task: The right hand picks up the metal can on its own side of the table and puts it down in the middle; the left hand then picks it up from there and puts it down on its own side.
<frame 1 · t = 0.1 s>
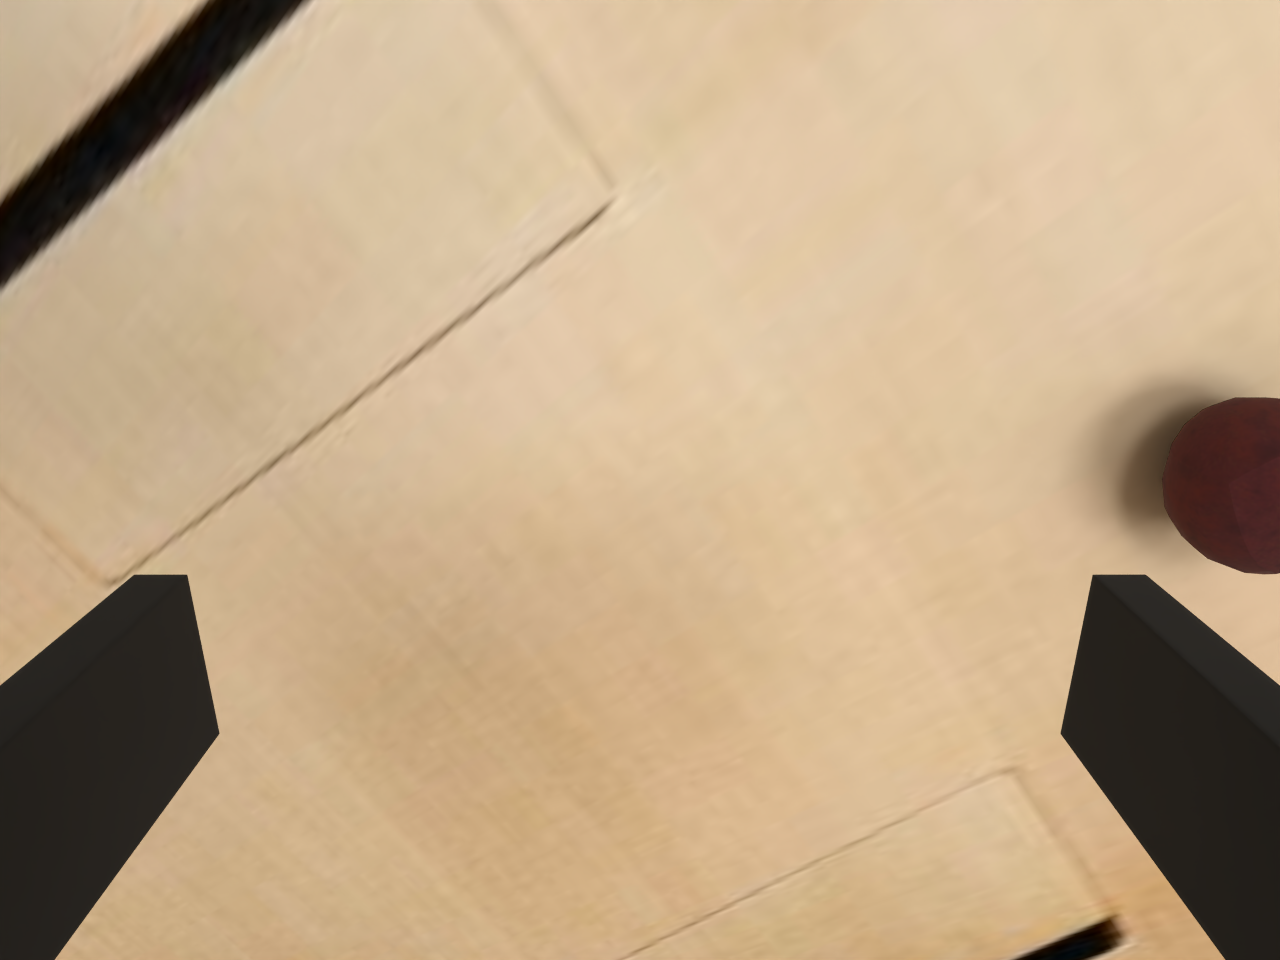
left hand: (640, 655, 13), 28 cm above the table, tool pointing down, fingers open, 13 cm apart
dark maroon ball: (1206, 455, 41), on the table
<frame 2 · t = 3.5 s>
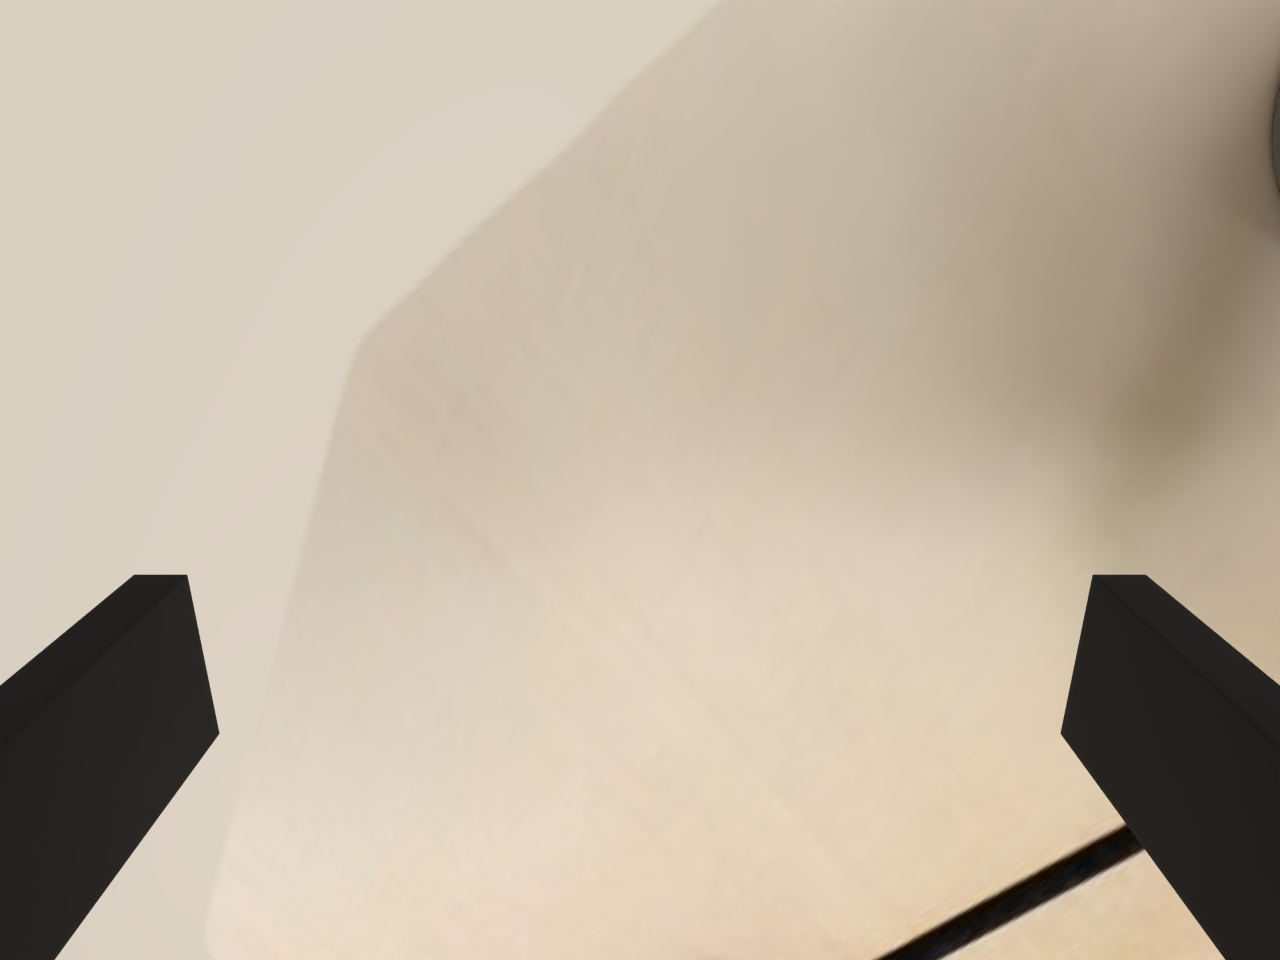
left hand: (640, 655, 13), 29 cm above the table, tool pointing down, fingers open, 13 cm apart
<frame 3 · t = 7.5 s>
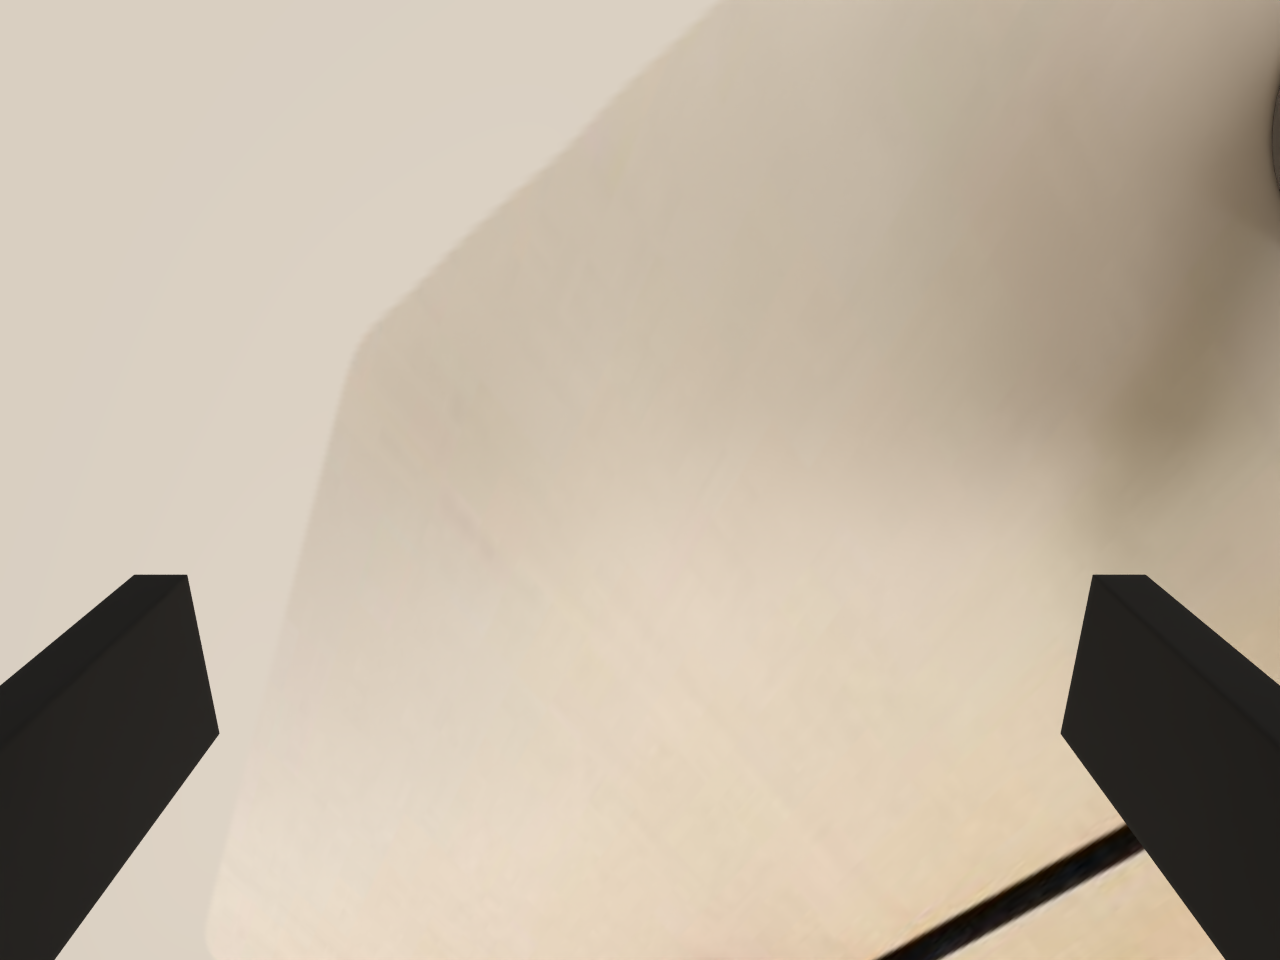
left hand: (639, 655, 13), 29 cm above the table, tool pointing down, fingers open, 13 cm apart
when the right hand's fingers open (6 cm above the table, at t = 11.4 s): can drops 1 cm, on the table.
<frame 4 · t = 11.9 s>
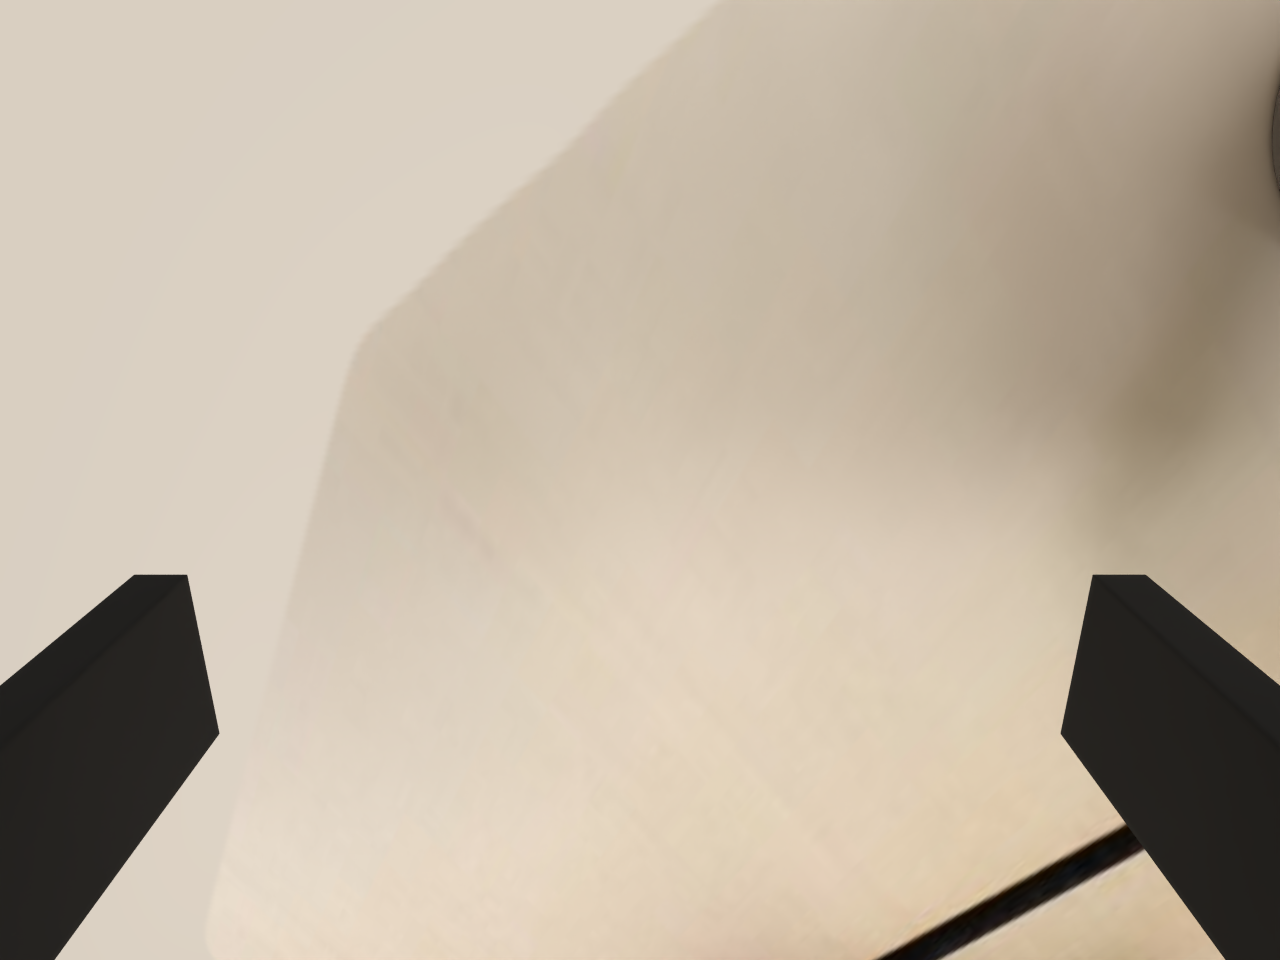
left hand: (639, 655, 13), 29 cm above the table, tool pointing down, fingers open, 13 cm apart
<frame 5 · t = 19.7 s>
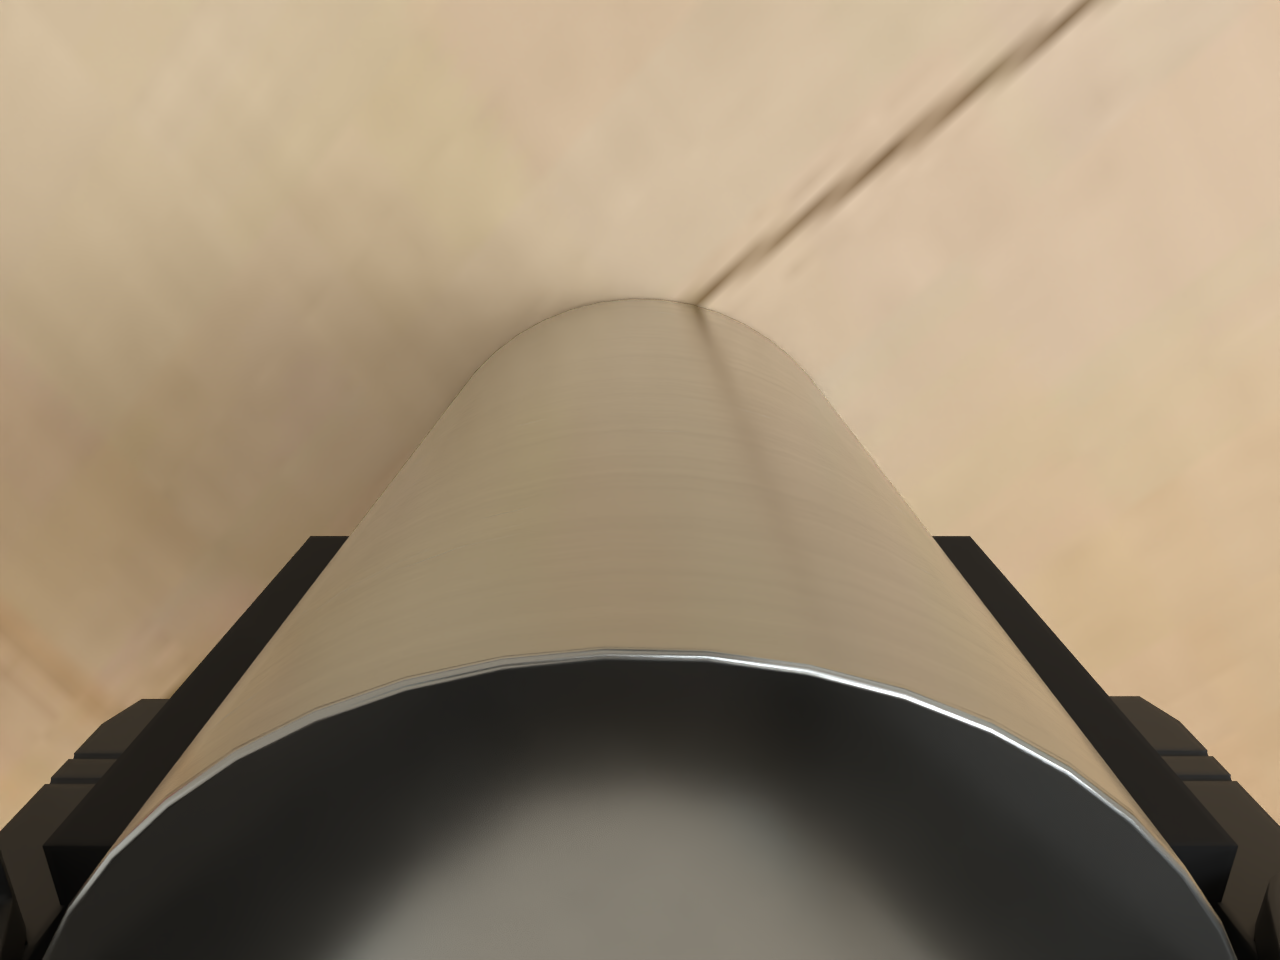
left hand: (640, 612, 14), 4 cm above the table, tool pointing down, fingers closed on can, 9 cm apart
can: (640, 510, 18), on the table, touching left hand
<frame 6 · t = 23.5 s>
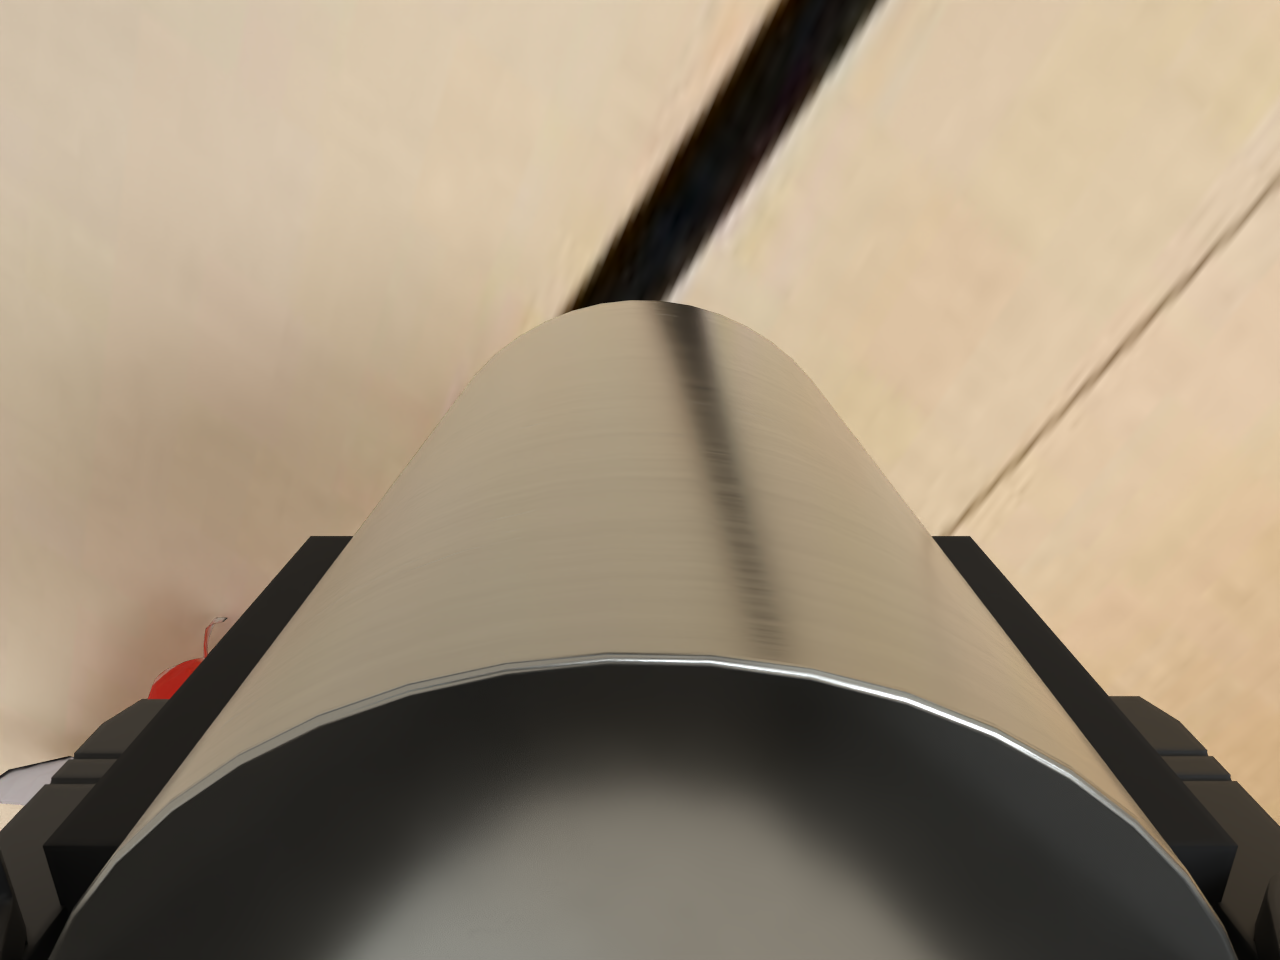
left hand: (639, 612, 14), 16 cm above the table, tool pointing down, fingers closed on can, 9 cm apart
can: (641, 511, 18), point 12 cm above the table, touching left hand
fish: (230, 750, 34), on the table
when the left hand's fingers open (6 cm above the table, at t = 27.6 s): can drops 1 cm, on the table.
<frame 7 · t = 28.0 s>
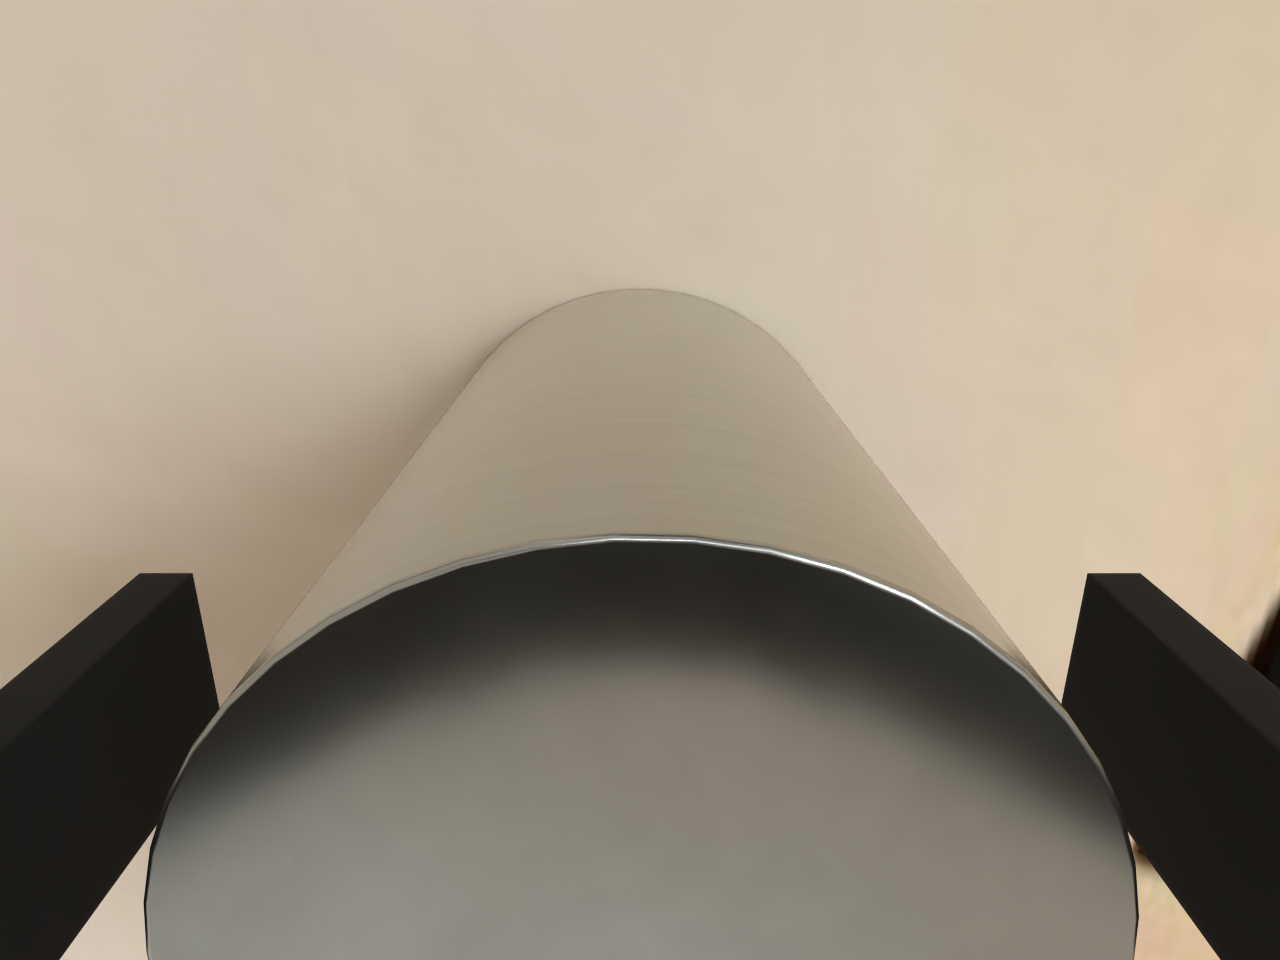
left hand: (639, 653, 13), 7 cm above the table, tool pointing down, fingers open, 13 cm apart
can: (640, 485, 20), on the table
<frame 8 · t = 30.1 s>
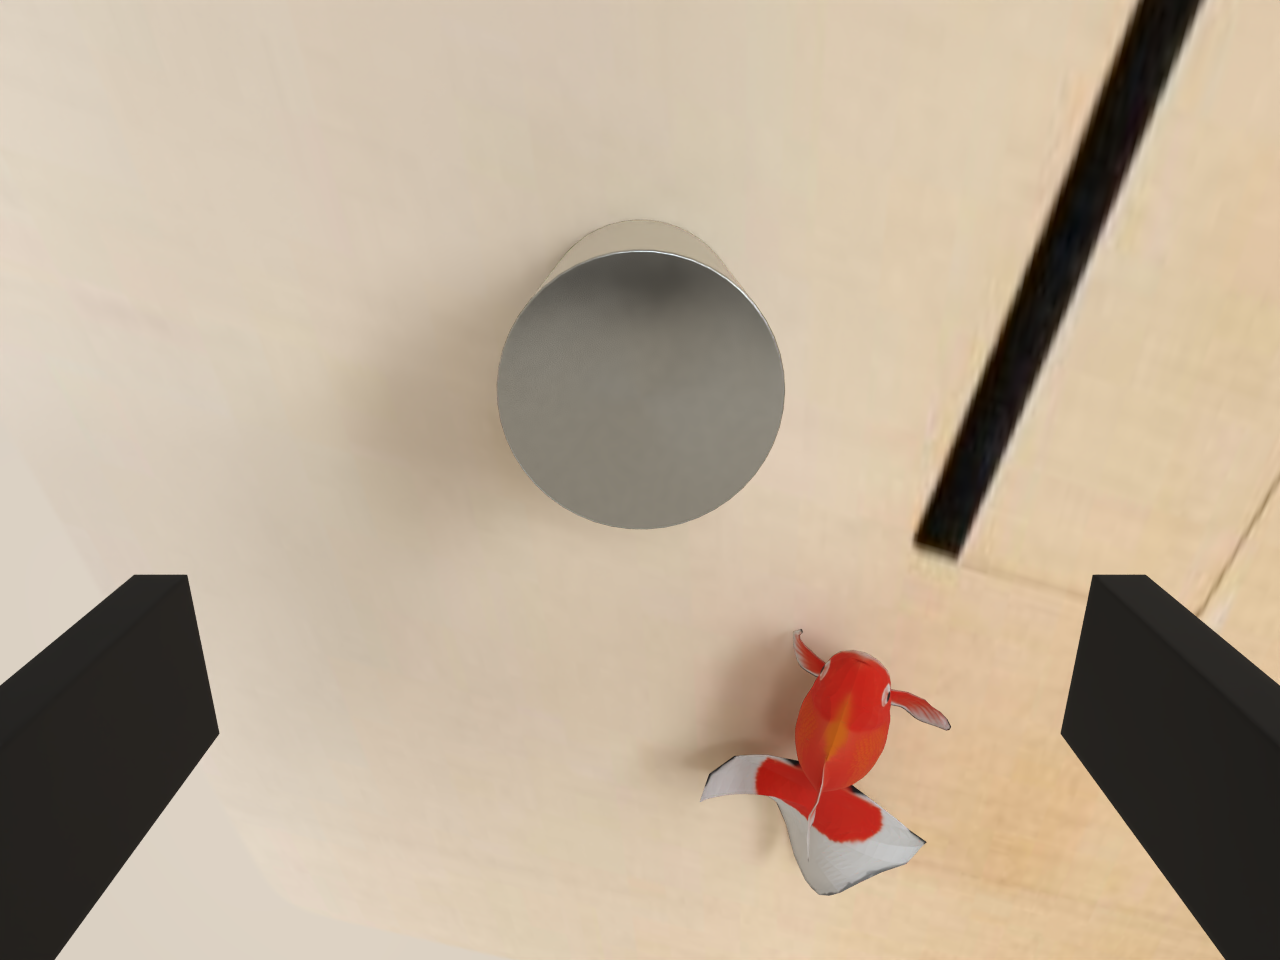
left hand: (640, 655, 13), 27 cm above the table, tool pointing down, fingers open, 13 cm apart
can: (640, 323, 38), on the table
fish: (816, 726, 46), on the table
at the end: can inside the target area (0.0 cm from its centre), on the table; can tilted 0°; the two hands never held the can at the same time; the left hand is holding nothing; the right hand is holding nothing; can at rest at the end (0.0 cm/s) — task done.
